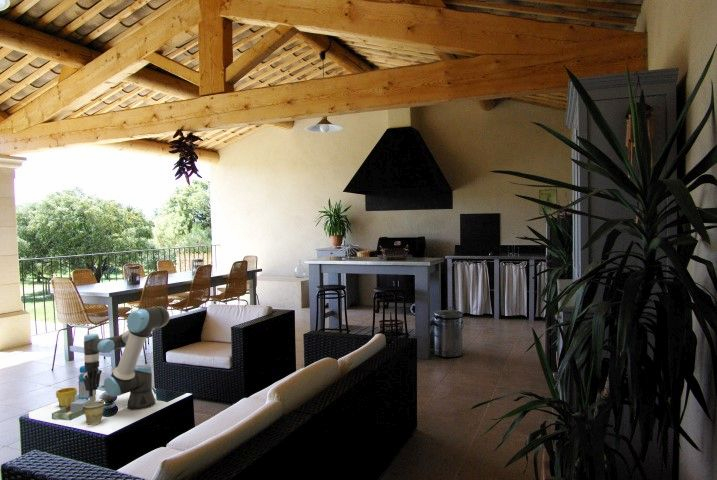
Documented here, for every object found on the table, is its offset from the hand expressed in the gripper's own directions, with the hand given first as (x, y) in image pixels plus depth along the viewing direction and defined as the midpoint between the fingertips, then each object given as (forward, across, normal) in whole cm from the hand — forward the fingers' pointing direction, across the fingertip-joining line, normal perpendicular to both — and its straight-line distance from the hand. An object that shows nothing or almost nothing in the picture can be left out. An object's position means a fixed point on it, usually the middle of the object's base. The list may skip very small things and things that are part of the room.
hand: (92, 401), depth 280 cm
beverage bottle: (+4, -13, -16) cm, 21 cm away
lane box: (+3, +10, 0) cm, 11 cm away
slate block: (+2, +8, 0) cm, 9 cm away
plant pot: (+4, +1, -17) cm, 17 cm away
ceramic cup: (+4, +20, +20) cm, 28 cm away
